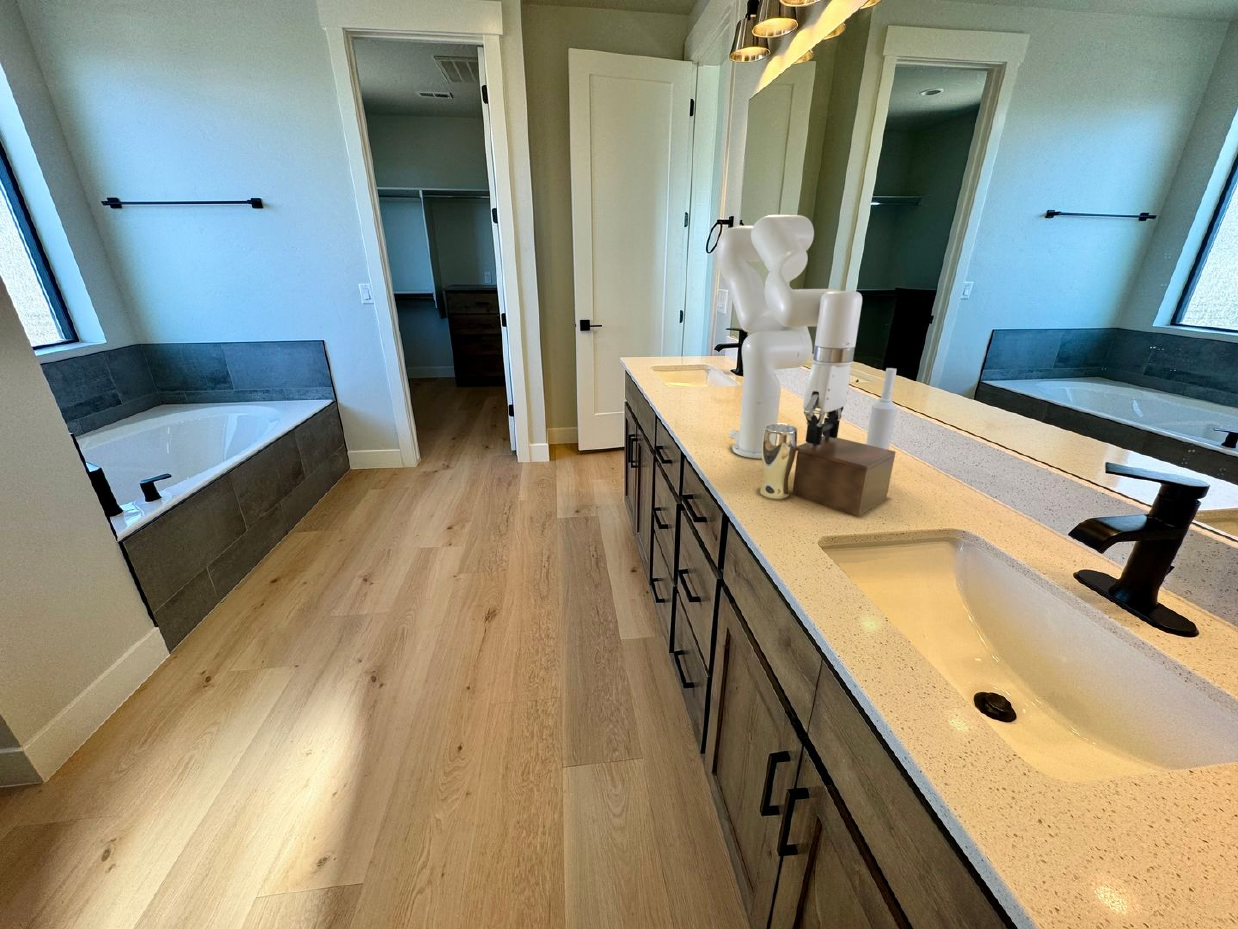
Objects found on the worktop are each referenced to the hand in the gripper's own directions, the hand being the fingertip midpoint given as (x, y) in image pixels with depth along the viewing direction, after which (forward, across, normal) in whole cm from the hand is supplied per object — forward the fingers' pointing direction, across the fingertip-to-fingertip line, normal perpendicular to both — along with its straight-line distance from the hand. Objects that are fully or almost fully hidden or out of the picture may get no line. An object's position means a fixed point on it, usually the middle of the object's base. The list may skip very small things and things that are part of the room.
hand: (821, 439), depth 106 cm
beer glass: (+12, +9, -4) cm, 15 cm away
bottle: (+12, -18, +5) cm, 22 cm away
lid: (+2, 0, +5) cm, 6 cm away
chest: (+12, 0, +6) cm, 13 cm away
